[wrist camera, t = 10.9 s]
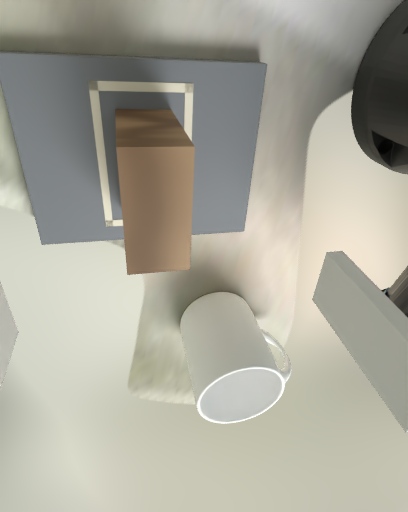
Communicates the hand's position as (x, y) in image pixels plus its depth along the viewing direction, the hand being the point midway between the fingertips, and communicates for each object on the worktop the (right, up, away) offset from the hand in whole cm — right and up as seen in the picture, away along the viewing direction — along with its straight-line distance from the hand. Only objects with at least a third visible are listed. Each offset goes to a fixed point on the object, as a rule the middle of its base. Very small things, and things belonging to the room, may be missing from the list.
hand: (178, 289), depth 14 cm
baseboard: (-4, +10, +14) cm, 17 cm away
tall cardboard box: (-4, +9, +13) cm, 16 cm away
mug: (+4, -6, +27) cm, 28 cm away
